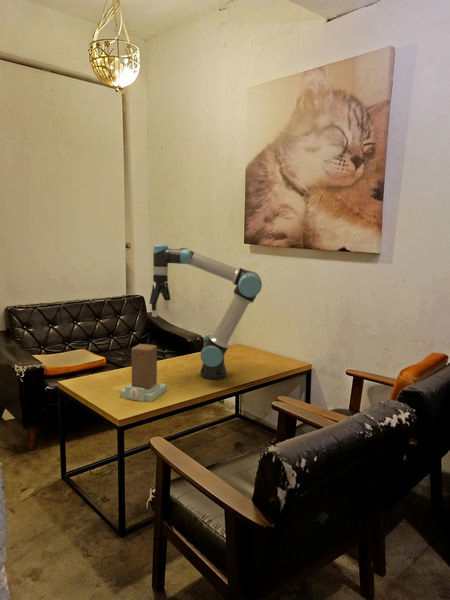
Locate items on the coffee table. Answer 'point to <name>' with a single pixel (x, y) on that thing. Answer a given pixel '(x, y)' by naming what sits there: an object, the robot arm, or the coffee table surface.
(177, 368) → the coffee table surface
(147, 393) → the scale
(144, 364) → the wooden block
